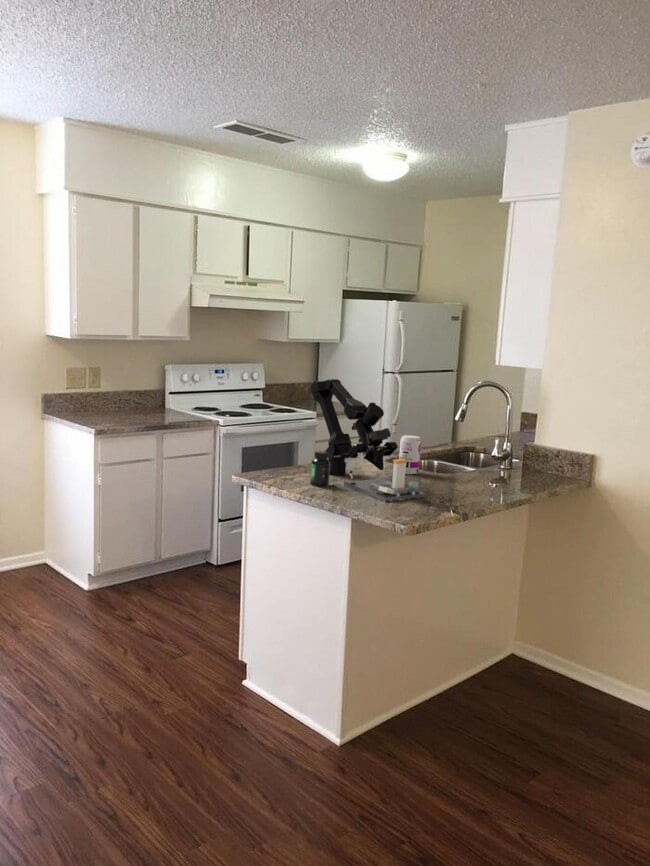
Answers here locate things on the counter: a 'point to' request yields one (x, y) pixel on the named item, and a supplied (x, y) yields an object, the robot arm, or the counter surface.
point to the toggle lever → (351, 474)
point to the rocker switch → (386, 489)
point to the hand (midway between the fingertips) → (382, 469)
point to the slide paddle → (399, 476)
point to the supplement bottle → (320, 469)
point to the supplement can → (410, 453)
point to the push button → (413, 485)
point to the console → (372, 488)
